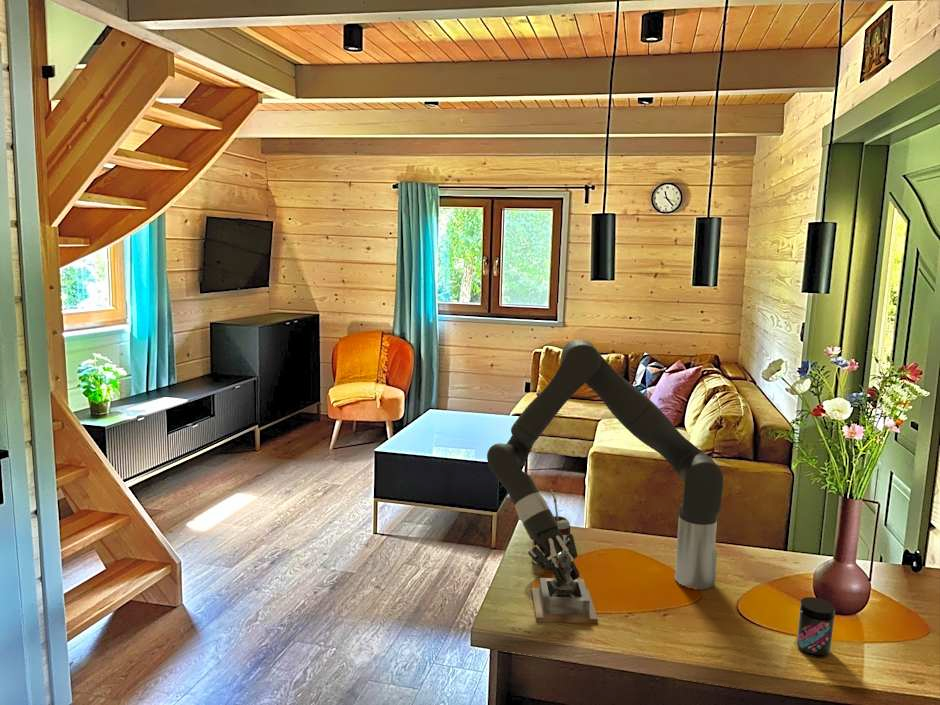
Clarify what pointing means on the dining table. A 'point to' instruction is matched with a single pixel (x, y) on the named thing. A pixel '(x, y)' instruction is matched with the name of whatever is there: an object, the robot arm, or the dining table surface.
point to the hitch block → (563, 604)
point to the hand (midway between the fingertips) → (570, 580)
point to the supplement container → (815, 626)
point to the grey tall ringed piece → (570, 586)
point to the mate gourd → (561, 520)
